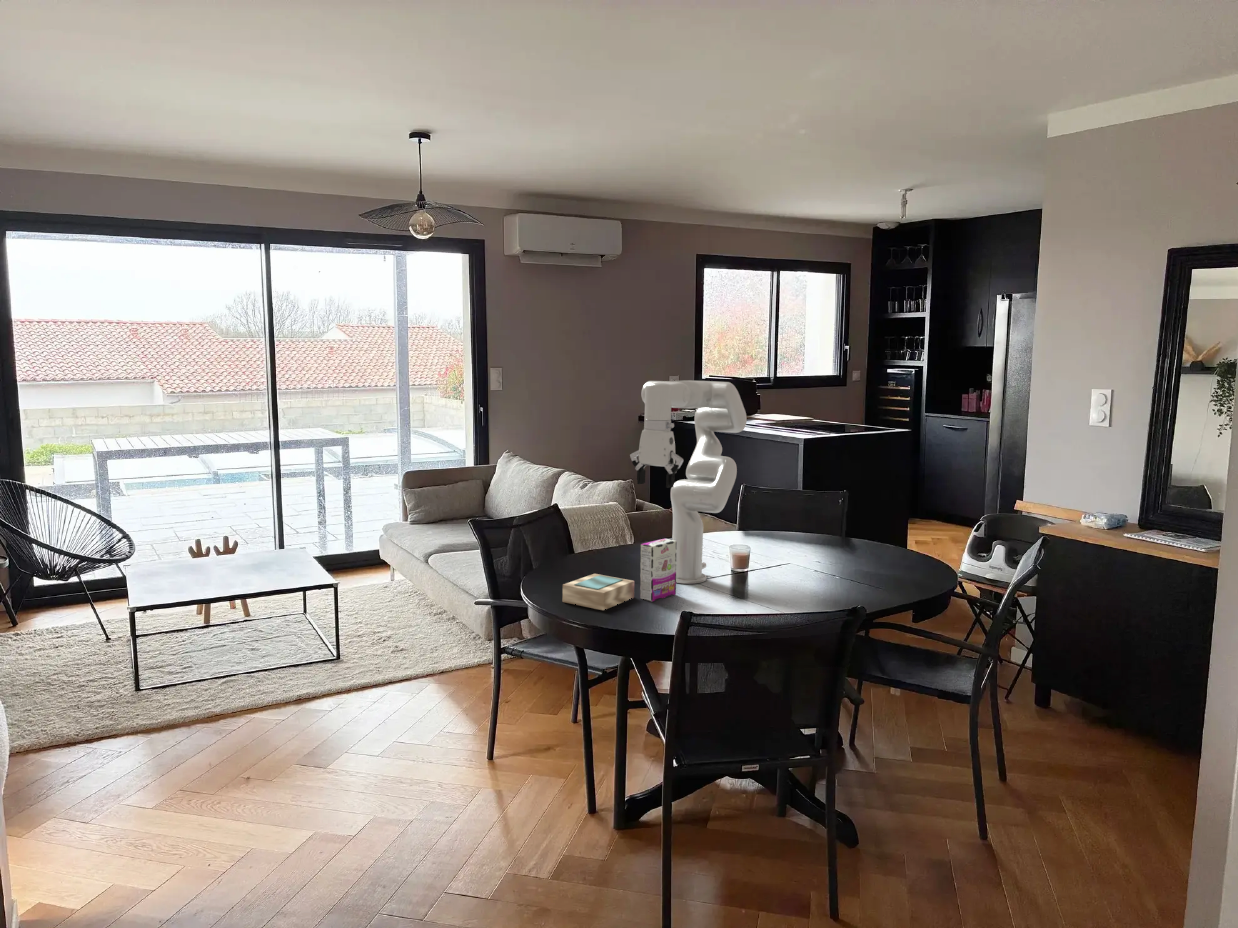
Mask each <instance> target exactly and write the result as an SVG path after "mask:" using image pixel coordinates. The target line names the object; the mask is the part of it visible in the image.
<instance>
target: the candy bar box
mask: <svg viewBox="0 0 1238 928" xmlns="http://www.w3.org/2000/svg"><path fill="white" fill-rule="evenodd" d="M676 544H677V541H675V540H672V539H670V538H662V539H661V538H660V539H657V540H653V541H649V542H644V543H641V544H640V560H639V561H640V564H639V565H640V573H639V575H640V579H639V580H640V581H639V582H640V583H639V584H640V587H639V588H640V589H639V598H640V599H641V600H643V599H644V601H647V602H656V601H659V600H663V599H666V598H668V597H672V596H675V595H676V594H677V583H676Z"/></svg>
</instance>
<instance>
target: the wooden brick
mask: <svg viewBox="0 0 1238 928" xmlns="http://www.w3.org/2000/svg"><path fill="white" fill-rule="evenodd" d="M631 598H632V599H634V598H635V580H632V579H627V578H626V579H625V578H620V577H614V576H609V575H603V574H600V573H599V574H598V573H593V574H589V575H587V576H584V577H580V578H578V579H575V580H572V581H570V582H569V581H568V582H565V583H563V584H562V599H561V600H562V603H566V604H571V605H575V604H576V605H575V606H581V607H585V608H591V609H594V610H600V611H606V610H608V609H610V608H612V607H615V606H617V604H618V605H620V604H623V603H625V602H627V601H629V599H630V600H632V599H631ZM624 601H625V602H624ZM605 609H606V610H605Z"/></svg>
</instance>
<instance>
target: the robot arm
mask: <svg viewBox="0 0 1238 928" xmlns="http://www.w3.org/2000/svg"><path fill="white" fill-rule="evenodd" d="M641 400H642V402H643V403H644V424H643V425H644V426H643V429H642V431H641V434H640V439H639V446H638V450H636V451H634V452H632V453H631V454H629V456H630V457H629V458H630V459H631V462H632V465H633V466H634V467H635V468H634V469H635V470H636V482H637V483H636V484H637V485H644V484H645V483H646V469H645V468H646V467H647V466H653V467H664V469H665V470H666V471H667V474H666V476H665V477H666V478H665V479H666V480H665V488H667V489H669V488H670V501H671V508H672V534H671V535H672V536H671V537H672V539H671V540H675V541H677V544H676V584H685V585H686V584H688V585H689V584H693V585H694V584H701V583H704V582H705V581H707V575H706V574H704V573H703V569H705V568H707V563H706V562H703V545H704V544H703V543H704V542H703V541H704V523H703V520H702V517H701V516H700V514H699V512H702V513H708V514H709V513H710V514H711V513H712V514H718V513H720V512H722V511H723V509H724V508H725V506H726V504H727V502H728V499H729V496H730V495H731V492H732V490H733V488H734V485H735V482H736V479H737V473H738V471H737V470H738V469H737V468H738V467H737V464H736V462H735V460H734V459H733V458H731V457H729V456H723V455H722V452H723V447H722V444H721V442H720V440H719V439H718V437H717V436H716V435H715V432H717V433H718V432H719V433H732V434H736V433H740V432H743V431H744V429H745V428H746V426H747V419H748V418H747V413H746V409H745V407H744V403H743V401H742V399H741V395H740V393H739V391H738V389H737V388H736V386H735V385H734V384H733V383H731V382H730V381H713V380H711V381H710V380H691V379H689V380H670V381H669V380H667V381H665V380H664V381H663V380H648V381H646V382H645V383H644V384H643V386H642V389H641ZM672 408H673V409H696V411H695V412H694V413H695V414H694V428H695V437H696V445H695V448H694V450H693V452H692V455H691V457H690V460H689V461H688V464H687V466H686V469H685V476H686V479H685V478H684V479H679V480H677V481H675V479H676V477H675V476H676V474H677V471H679V470H680V469H681V466H682V465H683V463H684V458H683V457H681V456H680V455H679V454H676V443H675V442H676V441H675V435H674V431H672V429H673V428H674V427H675V423H674V422H673V423H672V420H671V419H672Z"/></svg>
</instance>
